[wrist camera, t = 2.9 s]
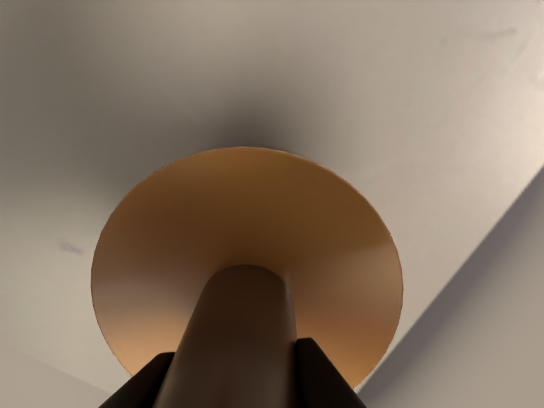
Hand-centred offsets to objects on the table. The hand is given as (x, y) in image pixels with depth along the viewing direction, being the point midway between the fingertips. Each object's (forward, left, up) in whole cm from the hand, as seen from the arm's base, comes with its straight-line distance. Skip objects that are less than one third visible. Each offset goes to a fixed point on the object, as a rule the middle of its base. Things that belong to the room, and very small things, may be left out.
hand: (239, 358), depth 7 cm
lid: (0, 0, -3) cm, 3 cm away
